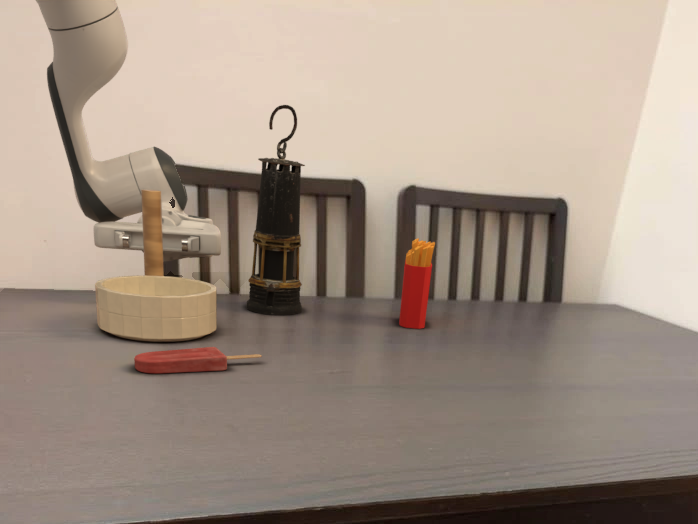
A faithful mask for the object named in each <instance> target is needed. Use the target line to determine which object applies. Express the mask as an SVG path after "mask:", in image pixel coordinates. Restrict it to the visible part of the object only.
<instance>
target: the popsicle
mask: <svg viewBox="0 0 698 524" xmlns="http://www.w3.org/2000/svg"><path fill="white" fill-rule="evenodd" d="M262 357H263V356H262V354H257V353H256V354H255V353H254V354H240V355H238V354H237V355H225V353H223V352H222V351H221V350H220V349H219V348H218V347H216V346H207V347H192V348H182V349H170V350H156V351H148V352H146V351H145V352H141V353H138V354H136V355H135V356H134V358H133V360H134V361H133V362H134V369H135V370H136V371H138V372H141V373H145V374H175V373H178V374H179V373H196V372H220V371H227V370H228V361H229V360H243V359H257V358H258V359H259V358H262Z"/></svg>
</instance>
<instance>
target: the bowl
mask: <svg viewBox="0 0 698 524" xmlns="http://www.w3.org/2000/svg"><path fill="white" fill-rule="evenodd" d="M94 289H95V291H94V292H95V305H96V320H97V326H98V327H99V330H102V331H105V332H106V333H109V334H110V335H113V336H115V337H118V338H122V339H126V340H132V341H140V342H153V343H156V342H157V343H170V342H171V343H174V342H184V341H192V340H197V339H200V338H203V337H206V336H207V335H209V334H211V333H214V332H215V331H216V330H217V326H218V325H217V322H218V320H217V319H218V317H217V315H218V314H217V311H218V308H217V307H218V306H217V303H218V301H217V300H218V299H217V297H218V289H217V286H215V285H214V284H212V283H210V282H206V281H203V280H200V279H199V280H198V279H193V278H188V277H180V276H169V275H164V276H146V275H145V274H144V275H143V274H141V275H139V274H137V275H121V276H120V275H119V276H112V277H107V278H102V279H100V280H97V281H96V282H95V283H94Z"/></svg>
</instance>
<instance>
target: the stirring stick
mask: <svg viewBox="0 0 698 524" xmlns="http://www.w3.org/2000/svg"><path fill="white" fill-rule="evenodd" d="M141 197H142V212H141V216H142V222H143V247H144V253H143V267H144V269H143V270H144V275H146V276H165V275H164V271H165V270H164V262H163V236H162V202H161V191H158V190H141Z"/></svg>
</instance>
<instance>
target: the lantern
mask: <svg viewBox="0 0 698 524" xmlns="http://www.w3.org/2000/svg"><path fill="white" fill-rule="evenodd" d="M284 109H285V110H289V111H290V113H291V114H292V116H293V127H292V129H291V132H290V133H289V134H288V135H287V137H283V138H282V139H281V140H280V141H278V143H277V144H276V156H277V158H276V157H275V158H274V157H270V158H269V157H263V158H262V157H260V158H259V157H258V158H257V160H258V161H260V162H261V174H260V183H259V185H260V187H259V196H258V206H257V215H256V222H255V230H254V231H253V232H254V233H253V235H252V243H253V258H252V269H251V275H250V277H249V279H248V280H247V282H248V283H249V285H248V286H249V293H248V294H249V298H248V300H247V301H246V306H245V307H246V309H247V310H249V311H250V312H254V313H258V314H261V315H262V314H263V315H273V316H290V315H296V314H297V315H298V314H300V313H301V312H302V311H303V310H302V309H303V308H302V303H301V287H302V285H303V284H302V282H301V280H300V248H301V247H302V240H301V234H300V227H301V226H300V224H301V223H300V221H301V220H300V219H301V216H300V215H301V178H302V177H301V176H302V175H301V174H302V167H306V165H305V164H303V163H301V162H299V161H294V160H290V159H286V158H287V152H286V150H287V147H288V144H287V142H289V141H290V140H291V139H292V138H293V137H294V135H295V133H296V131H297V127H298V116H297V112H296V109H295V108H293V107H292V106H291V105H288V104H280V105H279V106H277V107H275V108H274V110H273V111H272V112H271V114H270V117H269V122H268V124H269V126H268V127H269V131H270V130H271V131H272V130H273V123H274V118H275V115H276V114H277V113H278V111H280V110H284ZM282 144H283V145H282ZM281 146H282V147H281ZM258 248H259V249H258ZM295 250H296V270H295V271H296V273H295V276H294V266H295V265H294V263H295ZM257 255H258V273H256V265H257Z"/></svg>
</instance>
